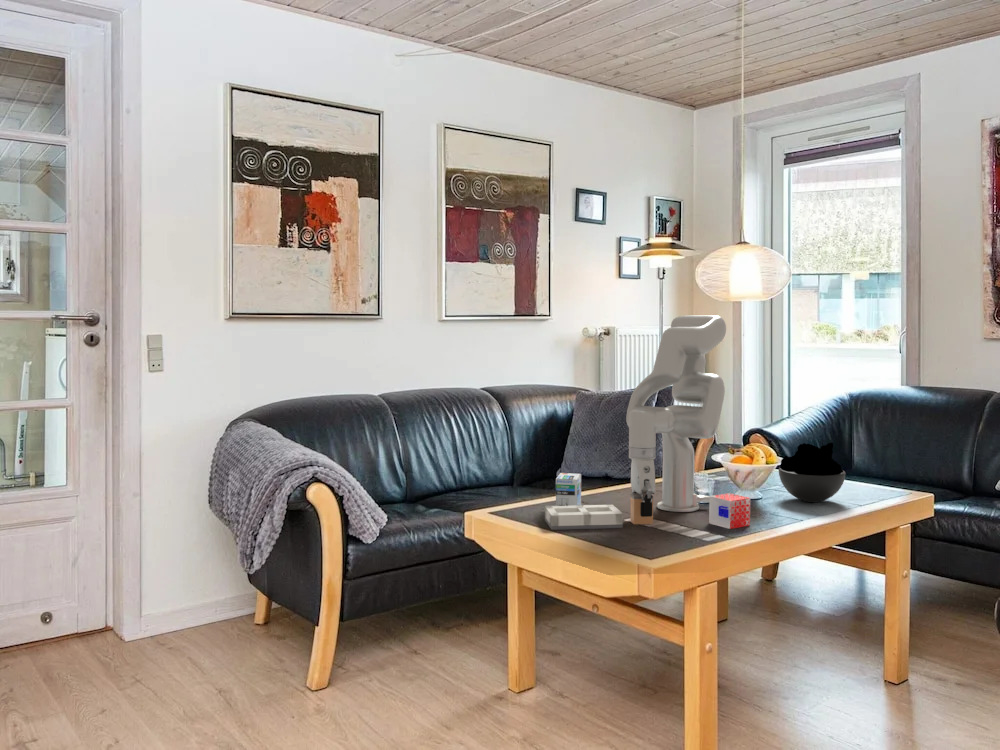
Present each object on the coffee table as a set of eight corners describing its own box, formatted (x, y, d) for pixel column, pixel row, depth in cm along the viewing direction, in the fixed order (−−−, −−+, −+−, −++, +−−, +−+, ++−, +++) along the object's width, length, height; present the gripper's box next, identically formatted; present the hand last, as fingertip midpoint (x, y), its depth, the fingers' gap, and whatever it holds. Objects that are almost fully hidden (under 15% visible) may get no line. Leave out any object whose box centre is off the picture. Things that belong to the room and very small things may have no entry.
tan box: (649, 520, 251) (649, 493, 251) (652, 523, 247) (653, 495, 247) (630, 521, 251) (630, 493, 250) (633, 524, 247) (634, 496, 246)
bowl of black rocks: (781, 506, 270) (782, 446, 268) (775, 494, 289) (776, 437, 288) (849, 509, 265) (851, 448, 264) (839, 496, 285) (840, 439, 283)
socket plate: (612, 518, 254) (612, 504, 254) (622, 527, 242) (622, 513, 242) (544, 519, 252) (544, 506, 252) (551, 529, 240) (551, 515, 240)
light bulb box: (577, 515, 258) (577, 479, 257) (555, 514, 259) (555, 478, 259) (581, 507, 269) (581, 473, 268) (559, 506, 270) (559, 472, 269)
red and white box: (749, 525, 245) (750, 497, 245) (730, 529, 241) (730, 500, 240) (728, 520, 252) (728, 493, 251) (708, 523, 248) (709, 496, 247)
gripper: (663, 457, 239) (663, 519, 241) (646, 448, 257) (646, 505, 258) (637, 458, 239) (636, 519, 240) (621, 448, 256) (621, 506, 257)
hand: (641, 512), depth 249 cm, fingers open, 9 cm apart
